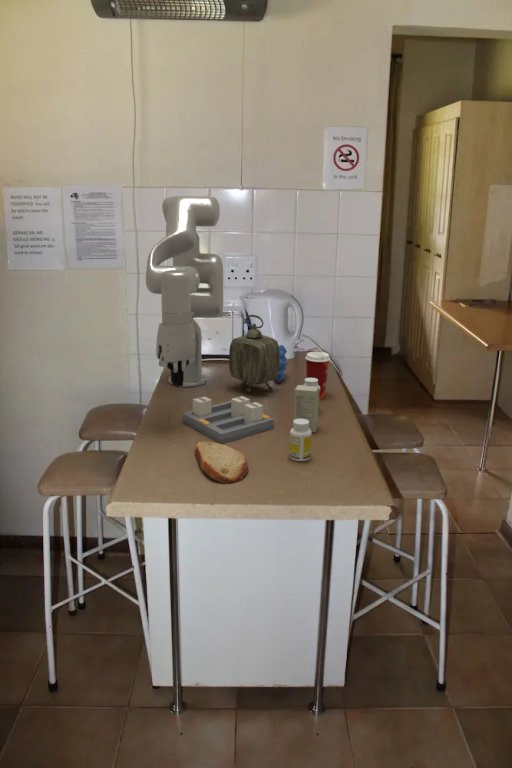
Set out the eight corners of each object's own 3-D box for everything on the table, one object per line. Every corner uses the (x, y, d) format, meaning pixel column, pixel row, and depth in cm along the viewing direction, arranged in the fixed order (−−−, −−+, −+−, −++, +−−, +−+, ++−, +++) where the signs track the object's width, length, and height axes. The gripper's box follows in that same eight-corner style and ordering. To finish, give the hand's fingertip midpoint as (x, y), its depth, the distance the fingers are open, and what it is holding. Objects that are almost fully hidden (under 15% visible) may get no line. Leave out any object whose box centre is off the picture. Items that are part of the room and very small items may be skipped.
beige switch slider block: (193, 417, 188) (192, 398, 186) (204, 414, 191) (204, 395, 189) (199, 421, 186) (199, 401, 184) (211, 418, 188) (211, 398, 186)
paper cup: (332, 399, 209) (334, 356, 205) (310, 401, 206) (312, 358, 202) (320, 391, 216) (323, 349, 211) (299, 393, 213) (301, 351, 209)
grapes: (269, 374, 232) (270, 340, 229) (288, 375, 231) (290, 342, 228) (265, 384, 221) (265, 349, 218) (285, 385, 220) (286, 351, 217)
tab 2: (244, 423, 185) (244, 403, 183) (255, 420, 187) (255, 401, 185) (251, 427, 182) (251, 407, 180) (262, 424, 185) (263, 404, 183)
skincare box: (318, 427, 186) (320, 386, 183) (315, 433, 183) (317, 391, 179) (295, 424, 188) (297, 383, 184) (292, 430, 184) (294, 388, 180)
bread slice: (201, 445, 174) (201, 432, 173) (264, 458, 167) (265, 444, 166) (167, 473, 158) (166, 459, 157) (236, 488, 152) (236, 473, 150)
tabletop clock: (278, 392, 214) (281, 316, 206) (262, 399, 208) (263, 321, 200) (243, 382, 223) (244, 309, 215) (226, 389, 216) (226, 314, 208)
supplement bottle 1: (309, 453, 170) (311, 417, 167) (311, 462, 165) (313, 425, 162) (288, 452, 170) (290, 417, 167) (289, 461, 165) (291, 425, 162)
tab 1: (231, 417, 189) (231, 397, 187) (242, 414, 191) (242, 395, 190) (238, 420, 187) (238, 401, 185) (249, 417, 189) (249, 398, 187)
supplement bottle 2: (307, 416, 194) (309, 383, 191) (296, 410, 199) (297, 378, 195) (322, 413, 197) (324, 380, 194) (311, 407, 202) (312, 375, 198)
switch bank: (182, 421, 188) (182, 411, 187) (232, 408, 199) (233, 399, 198) (221, 443, 174) (221, 433, 173) (273, 428, 185) (274, 418, 184)
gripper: (192, 312, 181) (192, 377, 186) (144, 318, 172) (146, 386, 177) (208, 317, 175) (208, 383, 181) (159, 324, 166) (160, 393, 172)
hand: (177, 384), depth 179 cm, fingers closed
